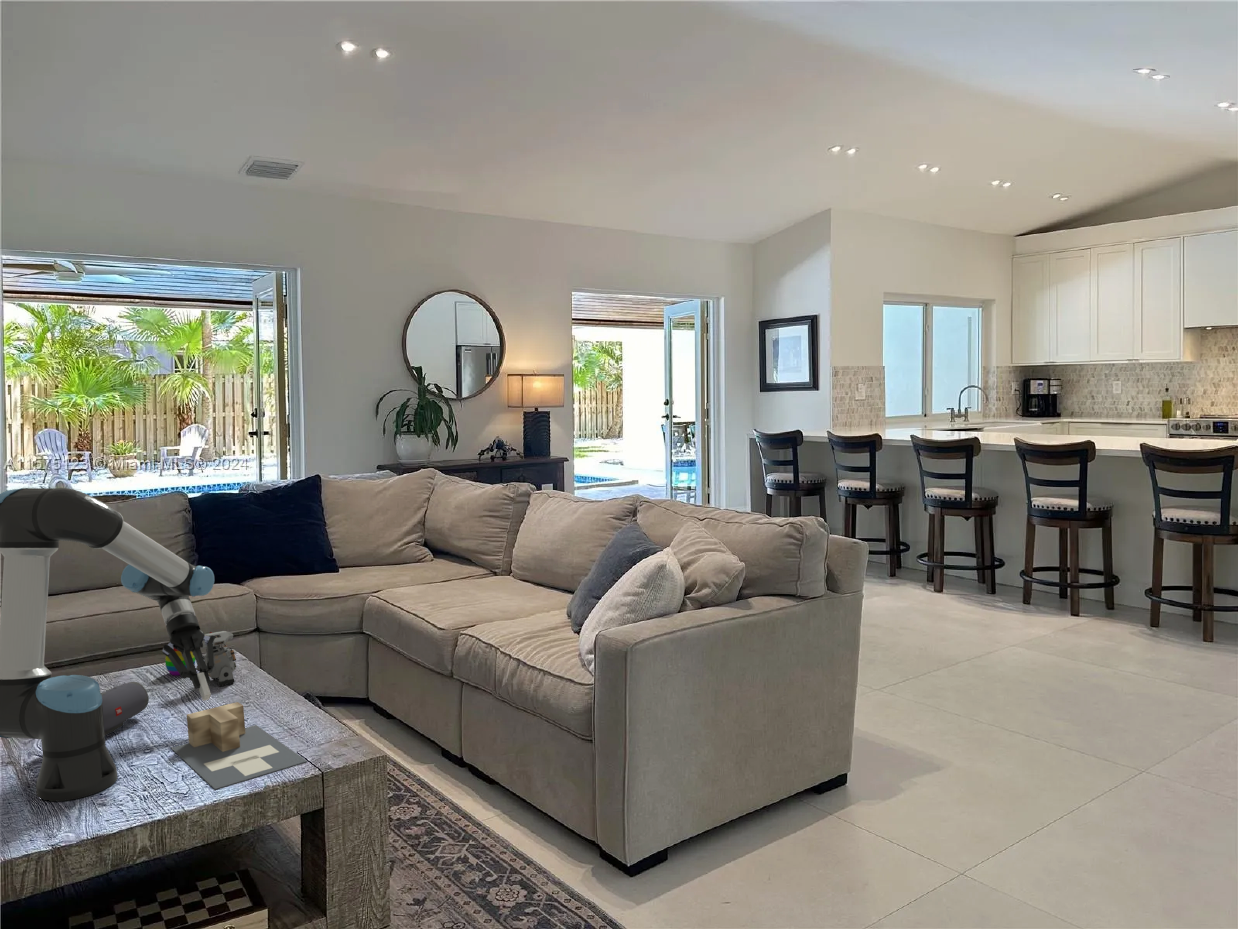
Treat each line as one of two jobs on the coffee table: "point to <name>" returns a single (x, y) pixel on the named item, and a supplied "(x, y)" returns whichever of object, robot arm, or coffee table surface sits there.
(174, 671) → the decorative egg
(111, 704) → the bluetooth speaker
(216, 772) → the mat
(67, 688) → the robot arm
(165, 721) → the coffee table surface
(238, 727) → the t block
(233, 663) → the figurine
